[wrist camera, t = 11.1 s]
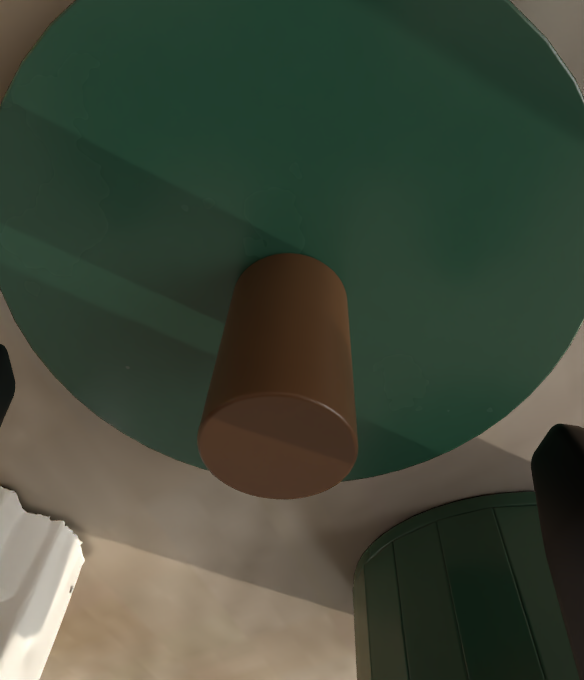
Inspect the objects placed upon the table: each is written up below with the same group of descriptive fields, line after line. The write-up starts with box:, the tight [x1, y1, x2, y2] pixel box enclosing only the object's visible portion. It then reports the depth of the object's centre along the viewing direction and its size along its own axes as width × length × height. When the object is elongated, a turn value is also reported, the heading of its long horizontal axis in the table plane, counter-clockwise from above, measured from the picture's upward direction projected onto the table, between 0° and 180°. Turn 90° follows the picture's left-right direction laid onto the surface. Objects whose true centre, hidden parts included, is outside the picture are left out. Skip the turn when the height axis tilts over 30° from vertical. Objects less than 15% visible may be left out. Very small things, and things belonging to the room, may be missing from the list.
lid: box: [0, 0, 584, 499], centre depth 10 cm, size 12×12×5 cm
